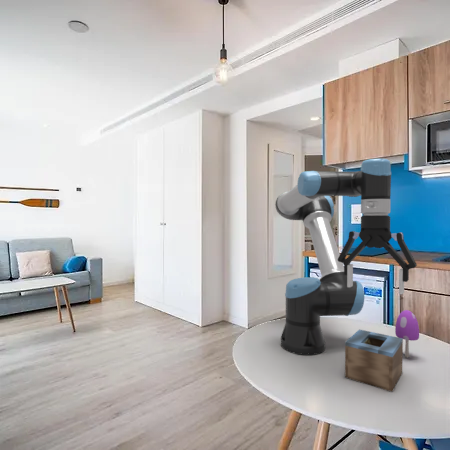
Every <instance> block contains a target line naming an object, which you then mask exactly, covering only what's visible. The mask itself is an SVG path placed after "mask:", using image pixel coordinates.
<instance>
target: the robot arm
mask: <svg viewBox="0 0 450 450" xmlns="http://www.w3.org/2000/svg"><path fill="white" fill-rule="evenodd" d="M391 166H392V165H391V161H390V160H389V159H387V158H370V159H366V160H363V161H362V163H361V166H360V170H357V171H330V170H329V171H326V170H322V171H321V170H308V171H307V170H306V171H302V172H300V174H299V177H298V179H297V184H296V185H295V186H294V187H292V188H291V189H290V190H289V191H284V192H282V193H281V194H280V195H278V196H277V198H276V200H275V204H274V205H275V210H276V212H277V214H278V215H280V216H281V217H282V218H284V219H287V220H289V221H302V223H303V226H304V227H305V228H306V229H308V231H309V234H310V238H311V241H312V245H313V250H314V252H315V257H316V259H317V260H316V261H317V264H318V267H319V270H320V277H319V278H318V277H313V276H312V277H304V276H303V277H299V278H298V277H297V278H294V279H291V280H289V281H287V283H286V287H285V293H284V297H285V323H284V326H283V330H282V332H281V336H280V346H281V348H282V349H283V350H285V351H287V352H290V353H293V354H298V355H303V356H304V355H305V356H309V355H310V356H311V355H318V354H321V353H323V352H324V351H326V350H325V349H326V340H325V337H324V334H323V331H322V327H321V317H336V316H337V317H340V316H343V317H344V316H346V317H348V316H353V315H354V316H355V315H358V314H360V313H361V311H362V310H363V308H364V303H365V290H364V289H365V288H364V287H363V284H362V283H361V282H360V281H358V280H354V264H353V263H352V261H354V259H355V258H357V256H358V255H359V254H360V253H361V252H362V251H363V250H364V249H365V248H366V247H367V248H368V249H371V248H376V249H383V248H384V250H385V251H387V253H389V255H390V256H391V257H392V259H393V260H394V261H395V262H396V263H397V264H398V265H399V266H400V269H399V270H398V295H403V294H404V293H405V282H406V283H407V282H408V281H409V275H410V274H409V273H410V272H409V271H410V270H411V269H415V268H417V266H418V264H417V262H416V260H415V258H414V257H413V254H412V253H411V251H410V249H409V247H408V246H407V244H406V242H405V239H404V238H405V237H404V233H403V232H397V233H396V232H395V233H392V232H391V217H390V215H389V214H390V213H391V194H392V193H391V191H392V189H391V188H392V184H391V183H392V170H391V168H392V167H391ZM359 196H360V213H361V214H363V215H361V216H360V231H359V232H357V231H354V230H352V231H349V233H348V239H347V241H346V243H345V245H344V246H343V248H342V250H341V252H340V251H339V248H338V245H337V242H336V239H335V236H334V232H333V229H332V226H331V223H330V222H332V219H333V217H334V214H335V208H334V207H335V205H334V202H333V199H332V198H331V197H349V198H350V197H351V198H357V197H359ZM358 237H359V238H360V240H361V242H360V243H359V244H358V246H356V248H355V249H354V250H353V251H352V252H351V253H350V254H349V252H350V250H351V248H352V246H353V244H354V243H355V240H356V239H358ZM392 238H393V239H394V241H396V243H397V244H398V246H399V248H400V250H401V252H402V254H403V255H404V258H405V259H404V258H403V257H402V256H401V254H399V252H397V250H396V249H395V248H394V247H393V245H392V244H391V243H390V240H391V239H392ZM348 254H349V256H347V255H348ZM405 260H406V261H407V262H406V261H405Z"/></svg>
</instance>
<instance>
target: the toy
mask: <svg viewBox="0 0 450 450" xmlns="http://www.w3.org/2000/svg"><path fill="white" fill-rule="evenodd" d="M394 331H395V332H394V333H395V337H398V338H403V341H404V340H405V348H404V349H405V351H404V357H405V358H409V357H410V350H409V349H410V348H409V347H410V346H409V345H410V344H409V343H410V341H417V340H419V338H420V327H419V322H418V319H417V317H416V315H415V314H414V313H413V312H412V311H410V310H408V309H405V310H401V312H400V313H399V314H398V317H397V318H396V322H395V330H394Z"/></svg>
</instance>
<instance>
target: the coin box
mask: <svg viewBox="0 0 450 450" xmlns="http://www.w3.org/2000/svg"><path fill="white" fill-rule="evenodd" d="M367 339H369V340H370V343H371V345H369V344H365V343H364V342H365V341H366V340H367ZM403 342H404V339H403V338H398V337H397V336H392V335H388V334H384V333H378V332H374V331H368V330H364V329H358V330H357V331H356V332H355V333H354V334H352V336H350V337H349V338H348V339H347V340H345V342H344V347H345V348H344V352H345V353H344V357H345V358H344V369H345V370H344V378H346V379H350V380H353V381H354V382H355V381H357V382H360V383H363V384H365V385H368V386H371V387H375V388H378V389H381V390H385V391H387V392H388V391H389V392H393V391H394V389H395V387H396V386H397V383H398V382H399V380H400V378H401V376H402V374H403V356H404V355H403V353H404V352H403V350H404V349H403V347H404V345H403V344H404V343H403Z"/></svg>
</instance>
